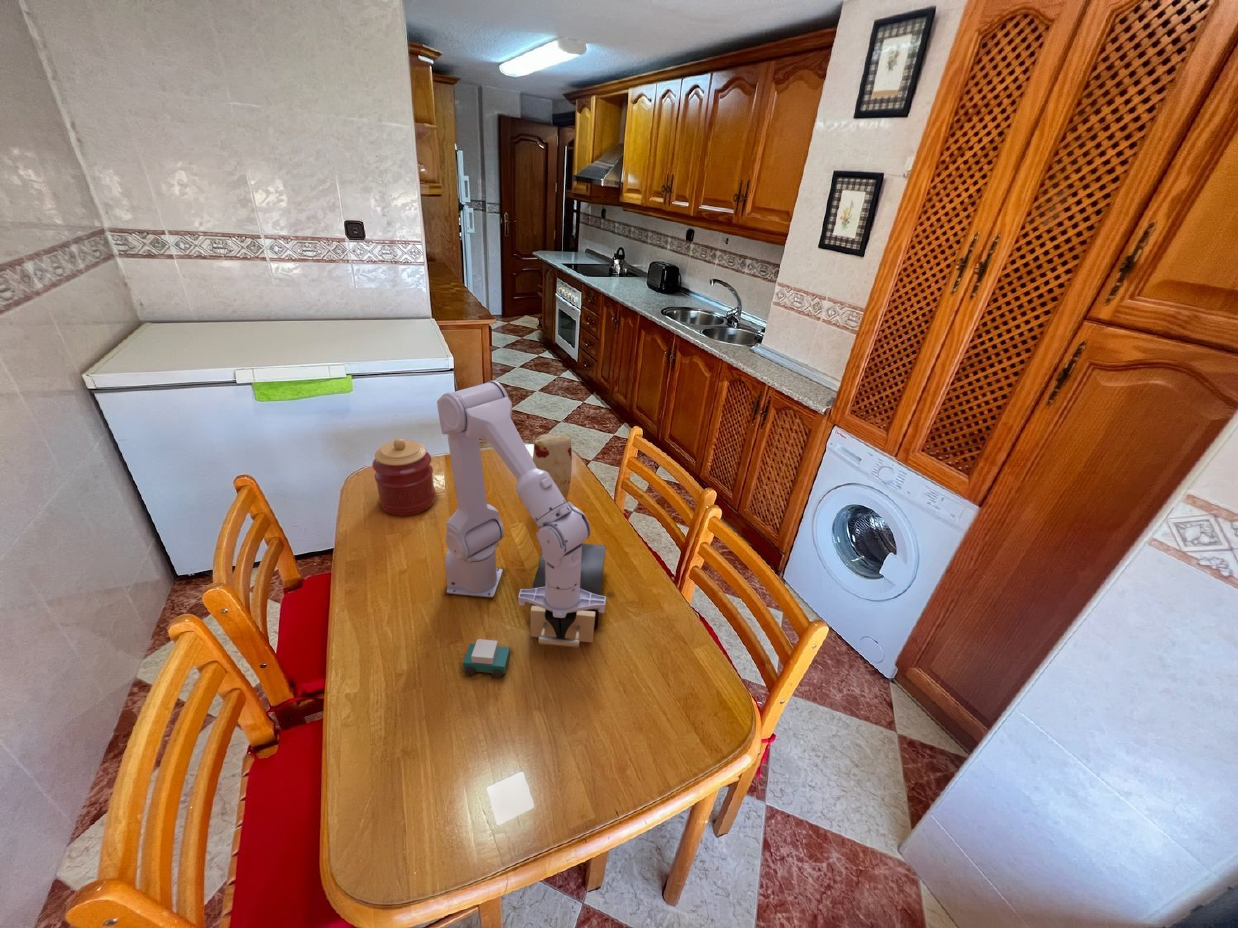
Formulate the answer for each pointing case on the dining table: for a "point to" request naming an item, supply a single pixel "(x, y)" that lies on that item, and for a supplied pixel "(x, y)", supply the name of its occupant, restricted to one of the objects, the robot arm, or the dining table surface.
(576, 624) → the drawer
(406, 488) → the kitchen canister
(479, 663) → the toy car
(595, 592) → the black cabinet
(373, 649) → the dining table surface
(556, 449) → the food model
